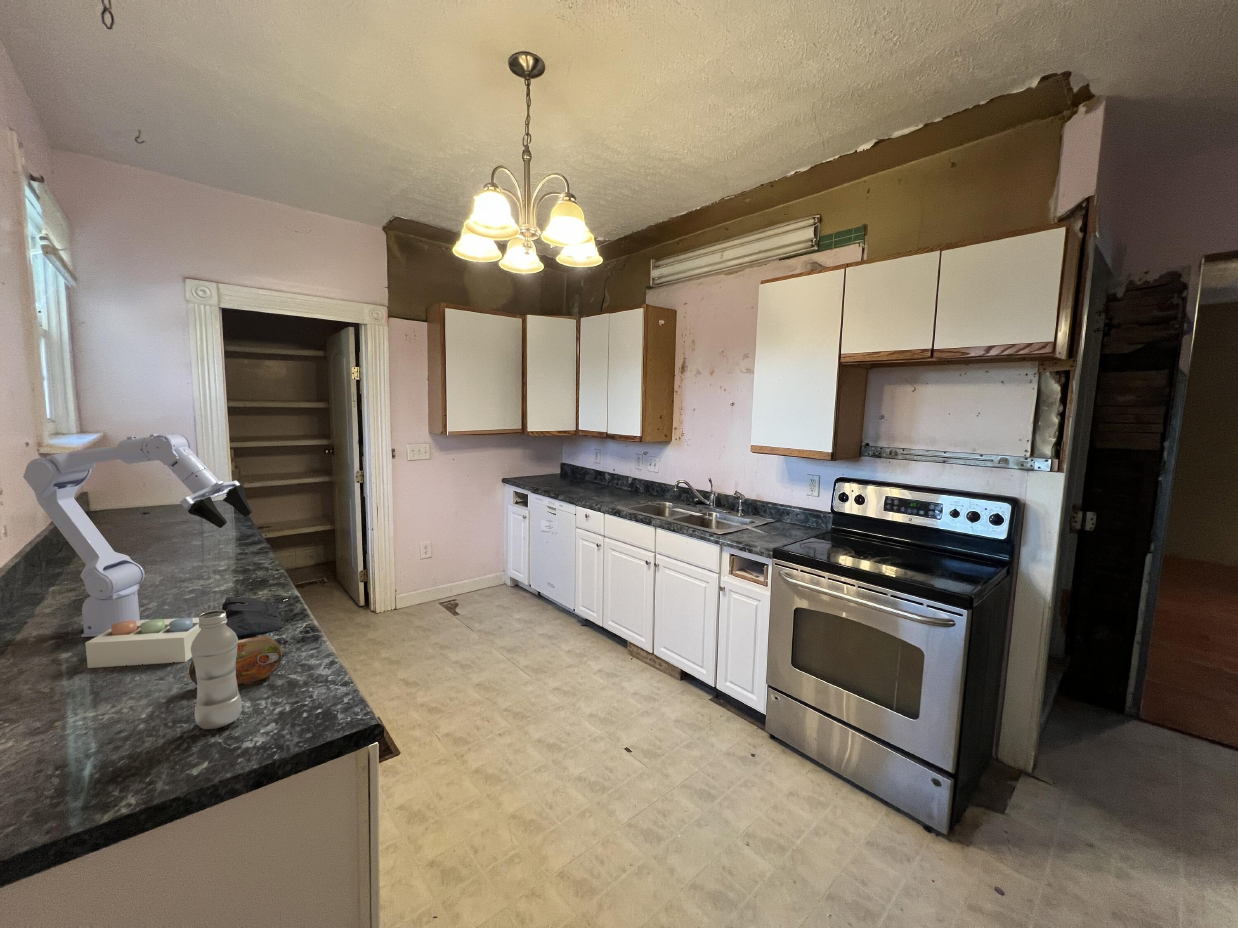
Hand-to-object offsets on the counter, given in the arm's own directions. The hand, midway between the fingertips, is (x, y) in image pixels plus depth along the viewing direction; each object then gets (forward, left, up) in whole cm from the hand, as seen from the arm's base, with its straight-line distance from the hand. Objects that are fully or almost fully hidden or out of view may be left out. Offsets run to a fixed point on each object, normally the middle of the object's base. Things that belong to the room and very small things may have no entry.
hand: (236, 520), depth 126 cm
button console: (-13, -11, -27) cm, 32 cm away
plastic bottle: (+15, -42, -28) cm, 52 cm away
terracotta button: (-18, -11, -23) cm, 31 cm away
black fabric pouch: (-2, +4, -28) cm, 28 cm away
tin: (+11, -27, -28) cm, 40 cm away
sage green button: (-13, -11, -23) cm, 29 cm away
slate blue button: (-7, -11, -23) cm, 27 cm away
